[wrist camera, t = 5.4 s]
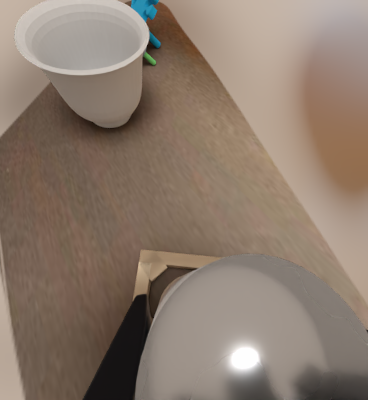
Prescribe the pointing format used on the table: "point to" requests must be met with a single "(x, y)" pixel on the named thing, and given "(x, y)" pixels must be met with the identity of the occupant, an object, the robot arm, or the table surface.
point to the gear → (145, 9)
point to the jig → (164, 267)
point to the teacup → (88, 54)
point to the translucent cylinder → (253, 336)
